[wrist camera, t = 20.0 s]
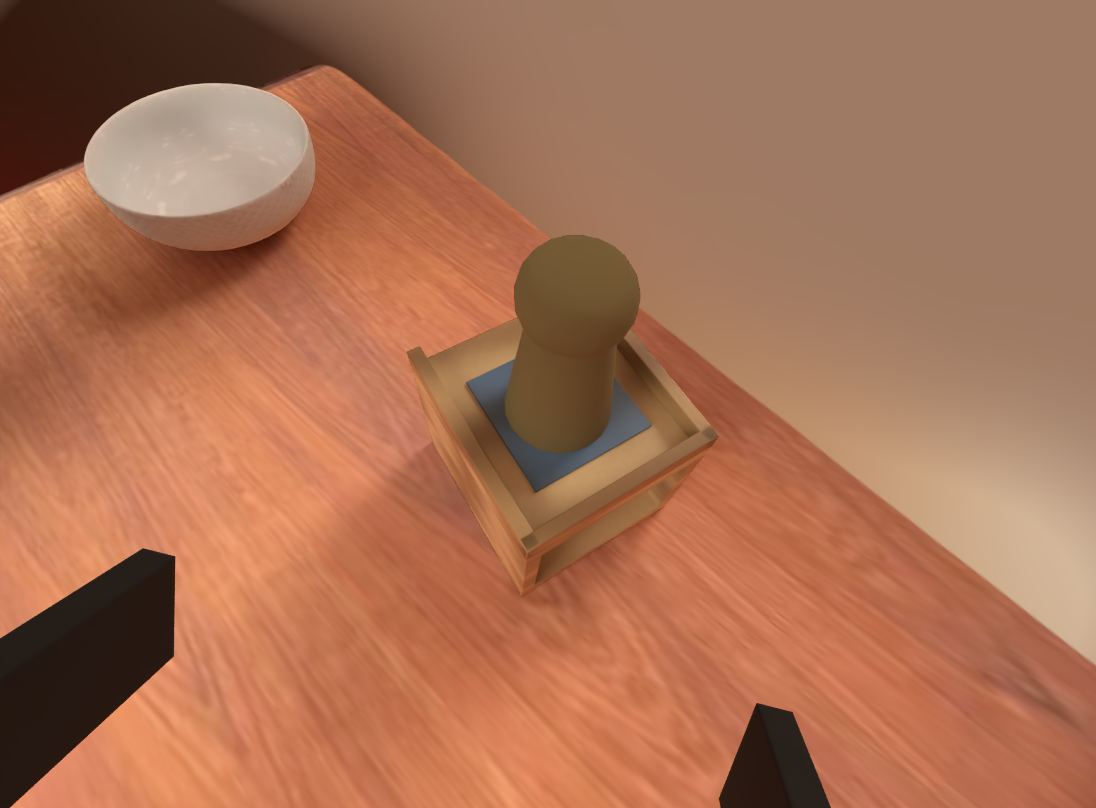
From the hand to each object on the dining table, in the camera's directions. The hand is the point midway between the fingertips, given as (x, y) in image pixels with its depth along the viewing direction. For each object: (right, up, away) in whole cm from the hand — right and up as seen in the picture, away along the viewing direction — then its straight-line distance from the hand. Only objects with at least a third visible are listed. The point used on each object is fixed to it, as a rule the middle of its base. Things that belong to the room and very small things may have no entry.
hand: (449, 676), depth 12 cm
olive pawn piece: (+3, +6, +19) cm, 20 cm away
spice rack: (+2, +1, +28) cm, 28 cm away
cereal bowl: (-27, +24, +39) cm, 53 cm away
